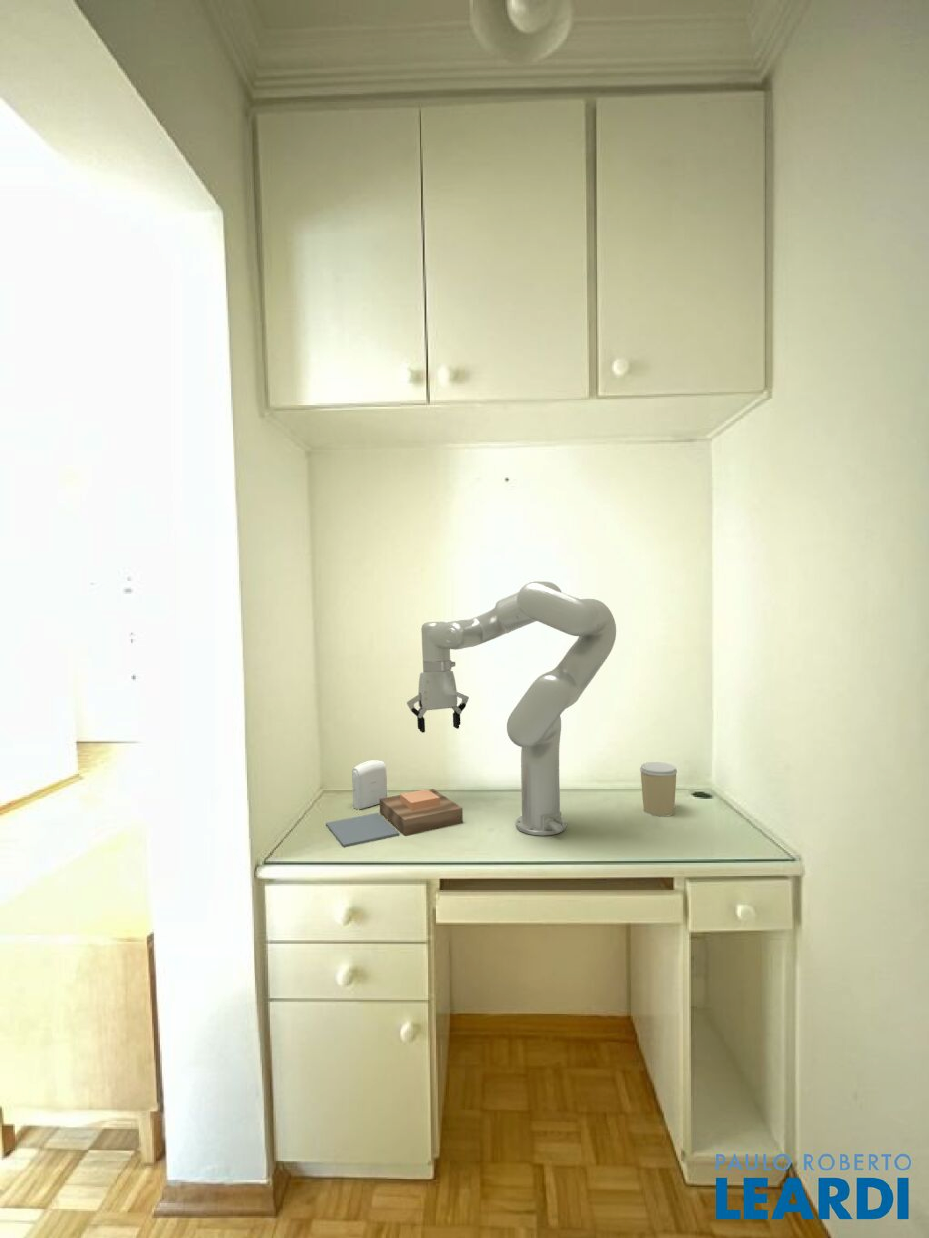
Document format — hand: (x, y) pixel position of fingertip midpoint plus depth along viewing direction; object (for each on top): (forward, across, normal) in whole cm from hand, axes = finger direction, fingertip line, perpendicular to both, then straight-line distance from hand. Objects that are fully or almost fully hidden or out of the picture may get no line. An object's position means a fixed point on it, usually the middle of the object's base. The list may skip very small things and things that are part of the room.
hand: (439, 729), depth 165 cm
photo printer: (+22, +18, -12) cm, 31 cm away
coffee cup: (+24, -53, +23) cm, 62 cm away
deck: (+22, +7, +4) cm, 23 cm away
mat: (+22, +23, +6) cm, 32 cm away
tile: (+18, +7, +4) cm, 20 cm away
